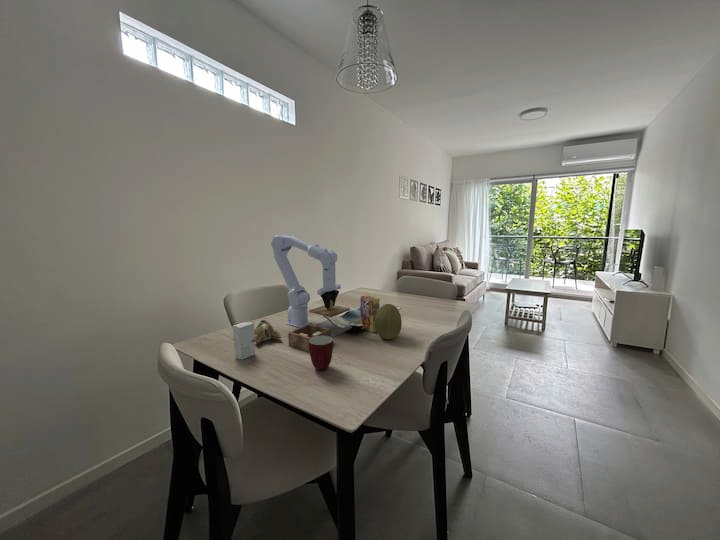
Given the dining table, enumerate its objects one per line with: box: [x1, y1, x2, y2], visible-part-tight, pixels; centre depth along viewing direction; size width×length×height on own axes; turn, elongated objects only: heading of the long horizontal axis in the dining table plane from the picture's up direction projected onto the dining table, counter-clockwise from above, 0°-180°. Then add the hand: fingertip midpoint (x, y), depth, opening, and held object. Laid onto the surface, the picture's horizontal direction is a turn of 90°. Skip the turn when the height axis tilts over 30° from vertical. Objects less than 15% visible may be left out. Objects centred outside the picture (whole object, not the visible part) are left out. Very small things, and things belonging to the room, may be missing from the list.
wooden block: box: [308, 300, 351, 318], centre depth 133 cm, size 13×13×5 cm
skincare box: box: [232, 321, 256, 361], centre depth 106 cm, size 6×4×12 cm
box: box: [287, 323, 332, 353], centre depth 118 cm, size 12×12×6 cm
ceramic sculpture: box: [253, 318, 282, 344], centre depth 122 cm, size 11×9×15 cm
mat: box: [315, 319, 353, 339], centre depth 135 cm, size 16×16×1 cm
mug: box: [308, 336, 334, 372], centre depth 96 cm, size 10×8×10 cm
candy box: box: [360, 294, 380, 334], centre depth 133 cm, size 9×4×15 cm, turn 39°
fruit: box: [375, 303, 403, 340], centre depth 122 cm, size 11×11×15 cm
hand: (329, 307), depth 133 cm, fingers closed on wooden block, 3 cm apart
